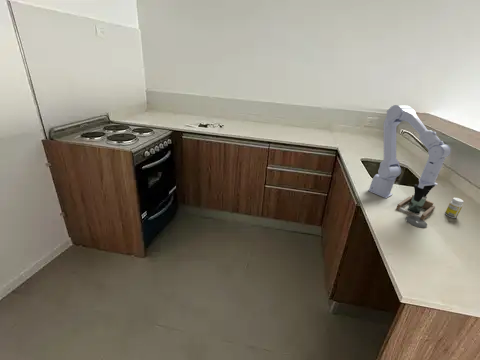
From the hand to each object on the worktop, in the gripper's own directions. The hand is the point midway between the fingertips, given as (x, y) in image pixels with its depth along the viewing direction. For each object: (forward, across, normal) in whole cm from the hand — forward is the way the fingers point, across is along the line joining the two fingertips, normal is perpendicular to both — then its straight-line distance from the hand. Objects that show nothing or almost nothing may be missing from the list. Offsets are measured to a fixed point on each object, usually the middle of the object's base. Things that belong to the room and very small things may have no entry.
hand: (419, 198), depth 125 cm
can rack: (+6, +1, 0) cm, 6 cm away
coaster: (+6, -11, -4) cm, 13 cm away
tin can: (+6, 0, 0) cm, 6 cm away
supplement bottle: (+7, +12, -12) cm, 18 cm away
